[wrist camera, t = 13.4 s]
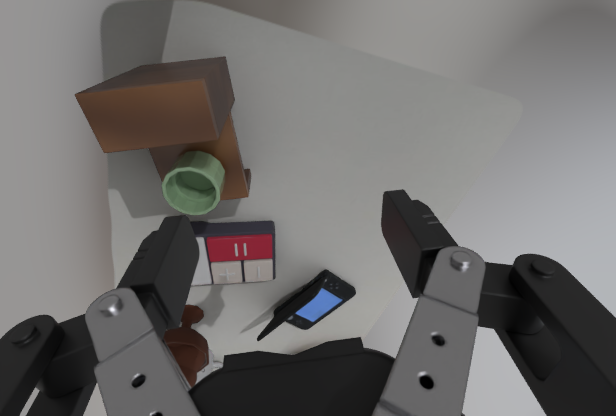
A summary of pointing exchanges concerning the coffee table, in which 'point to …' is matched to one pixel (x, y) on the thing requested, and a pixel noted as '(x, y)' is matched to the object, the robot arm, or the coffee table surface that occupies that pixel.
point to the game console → (312, 303)
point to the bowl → (194, 183)
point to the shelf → (170, 116)
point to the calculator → (234, 252)
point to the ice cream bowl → (188, 344)
